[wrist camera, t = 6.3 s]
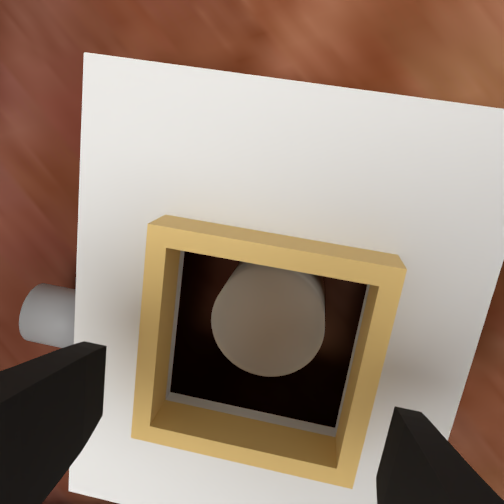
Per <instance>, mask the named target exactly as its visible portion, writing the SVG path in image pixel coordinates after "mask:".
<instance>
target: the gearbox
mask: <svg viewBox="0 0 504 504" xmlns="http://www.w3.org/2000/svg"><path fill="white" fill-rule="evenodd" d="M185 251H187V252H192V253H198V254H203V255H209V256H214V257H220V258H225V259H231V260H236V261H242V262H247V263H253V264H259V265H264V266H270V267H275V268H281V269H286V270H292V271H297V272H303V273H308V274H314V275H319V276H325V277H330V278H336V279H341V280H347V281H352V282H358V283H363V284H367V288H366V293H365V297H364V302H363V306H362V311H361V315H360V320H359V324H358V328H357V333H356V337H355V342H354V346H353V351H352V355H351V359H350V364H349V368H348V373H347V377H346V382H345V386H344V391H343V395H342V399H341V404H340V408H339V413H338V417H337V422H336V426H335V428H333V427H329V426H324V425H319V424H315V423H310V422H306V421H301V420H296V419H292V418H287V417H283V416H278V415H274V414H269V413H264V412H260V411H255V410H251V409H246V408H241V407H237V406H232V405H228V404H223V403H218V402H214V401H209V400H205V399H200V398H195V397H191V396H186V395H182V394H177V393H172V392H170V387H171V378H172V368H173V358H174V349H175V339H176V330H177V320H178V310H179V301H180V291H181V281H182V272H183V262H184V252H185ZM503 260H504V109H500V108H493V107H486V106H478V105H471V104H463V103H456V102H449V101H441V100H434V99H426V98H419V97H412V96H404V95H397V94H389V93H382V92H375V91H367V90H360V89H352V88H345V87H338V86H330V85H323V84H315V83H308V82H301V81H293V80H286V79H278V78H271V77H264V76H256V75H249V74H241V73H234V72H227V71H219V70H212V69H204V68H197V67H190V66H182V65H175V64H167V63H160V62H153V61H145V60H138V59H130V58H123V57H116V56H108V55H101V54H93V53H86V52H84V64H83V93H82V121H81V150H80V179H79V208H78V237H77V265H76V290H75V289H70V288H65V287H60V286H55V285H50V284H45V283H42V284H39V285H37V286H36V287H34V288H33V289H32V290H31V291H30V293H29V294H28V296H27V297H26V299H25V301H24V303H23V306H22V309H21V312H20V318H19V329H20V333H21V335H22V337H23V338H24V339H25V340H28V341H32V342H37V343H42V344H46V345H51V346H56V347H60V348H64V347H67V346H70V345H73V344H76V343H80V342H83V341H86V342H90V343H95V344H100V345H105V346H107V349H106V366H105V384H104V401H103V416H102V417H101V419H100V421H99V423H98V425H97V426H96V428H95V430H94V432H93V433H92V435H91V437H90V438H89V440H88V442H87V443H86V445H85V447H84V448H83V450H82V451H81V453H80V454H79V455H78V457H77V458H76V460H75V461H74V462H73V463H72V465H71V466H70V467H69V491H71V492H75V493H79V494H83V495H87V496H91V497H95V498H99V499H103V500H107V501H111V502H115V503H119V504H377V490H376V475H377V471H378V468H379V464H380V460H381V456H382V453H383V449H384V445H385V441H386V437H387V434H388V430H389V426H390V422H391V418H392V415H393V411H394V407H395V406H396V407H401V408H405V409H410V410H415V411H420V412H422V413H423V414H424V415H425V416H426V417H427V418H428V419H429V420H430V422H431V423H432V424H433V425H434V426H435V427H436V428H437V429H438V430H439V432H440V433H441V434H442V435H443V436H444V437H445V438H446V440H447V441H448V438H449V435H450V432H451V428H452V425H453V422H454V419H455V415H456V412H457V409H458V406H459V402H460V399H461V396H462V393H463V390H464V386H465V383H466V380H467V377H468V373H469V370H470V367H471V364H472V360H473V357H474V354H475V351H476V348H477V344H478V341H479V338H480V335H481V331H482V328H483V325H484V322H485V318H486V315H487V312H488V309H489V306H490V302H491V299H492V296H493V293H494V289H495V286H496V283H497V280H498V276H499V273H500V270H501V267H502V263H503Z"/></svg>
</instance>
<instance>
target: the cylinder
mask: <svg viewBox="0 0 504 504" xmlns="http://www.w3.org/2000/svg"><path fill="white" fill-rule="evenodd" d="M211 326H212V332H213V336H214V338H215V341H216V343H217V345H218V347H219V348H220V350H221V351H222V353H223V354H224V355H225V356H226V357H227V358H228V359H229V360H230V361H231V362H232V363H233V364H235V365H236V366H237V367H239V368H241V369H243V370H245V371H247V372H249V373H252V374H256V375H260V376H268V377H275V376H283V375H287V374H290V373H293V372H295V371H297V370H299V369H301V368H303V367H304V366H305V365H307V364H308V363H309V362H310V361H311V360H312V359H313V358H314V357H315V355H316V354H317V352H318V351H319V349H320V347H321V345H322V342H323V338H324V333H325V284H324V278H323V276H319V275H314V274H308V273H303V272H297V271H292V270H286V269H281V268H275V267H270V266H264V265H259V264H253V263H247V262H242V261H240V262H239V264H238V265H237V267H236V269H235V270H234V272H233V273H232V275H231V276H230V278H229V279H228V281H227V282H226V284H225V285H224V287H223V289H222V290H221V292H220V293H219V295H218V296H217V298H216V300H215V303H214V306H213V309H212V314H211Z"/></svg>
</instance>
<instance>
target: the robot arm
mask: <svg viewBox="0 0 504 504" xmlns="http://www.w3.org/2000/svg"><path fill="white" fill-rule="evenodd" d="M106 349H107V346H105V345H100V344H95V343H90V342H86V341H83V342H80V343H76V344H73V345H70V346H67V347H64V348H62V349H59V350H56V351H53V352H51V353H48V354H46V355H43V356H40V357H38V358H35V359H32V360H30V361H27V362H24V363H22V364H19V365H17V366H14V367H11V368H9V369H6V370H3V371H0V504H42V502H43V501H44V500H45V499H46V497H47V496H48V495H49V493H50V492H51V491H52V490H53V488H54V487H55V486H56V484H57V483H58V482H59V480H60V479H61V478H62V477H63V475H64V474H65V473H66V471H67V470H68V469H69V467H70V466H71V465H72V463H73V462H74V461H75V460H76V458H77V457H78V455H79V454H80V453H81V451H82V450H83V448H84V447H85V445H86V443H87V442H88V440H89V438H90V437H91V435H92V433H93V432H94V430H95V428H96V426H97V425H98V423H99V421H100V419H101V417H102V416H103V401H104V384H105V366H106ZM376 490H377V504H504V500H502V499H501V498H500V497H499V496H498V495H497V494H496V493H495V492H494V491H493V490H492V489H491V487H490V486H489V485H488V484H487V483H486V482H485V481H484V480H483V479H482V478H481V477H480V476H479V475H478V474H477V473H476V472H475V471H474V470H473V469H472V467H471V466H470V465H469V464H468V463H467V462H466V461H465V460H464V459H463V458H462V456H461V455H460V454H459V453H458V452H457V451H456V450H455V449H454V447H453V446H452V445H451V444H450V443H449V442H448V441H447V440H446V438H445V437H444V436H443V435H442V434H441V433H440V432H439V430H438V429H437V428H436V427H435V426H434V425H433V424H432V423H431V422H430V420H429V419H428V418H427V417H426V416H425V415H424V414H423V413H422V412H420V411H415V410H410V409H405V408H401V407H396V406H395V407H394V411H393V415H392V418H391V422H390V426H389V430H388V434H387V437H386V441H385V445H384V449H383V453H382V456H381V460H380V464H379V468H378V471H377V475H376Z"/></svg>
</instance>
